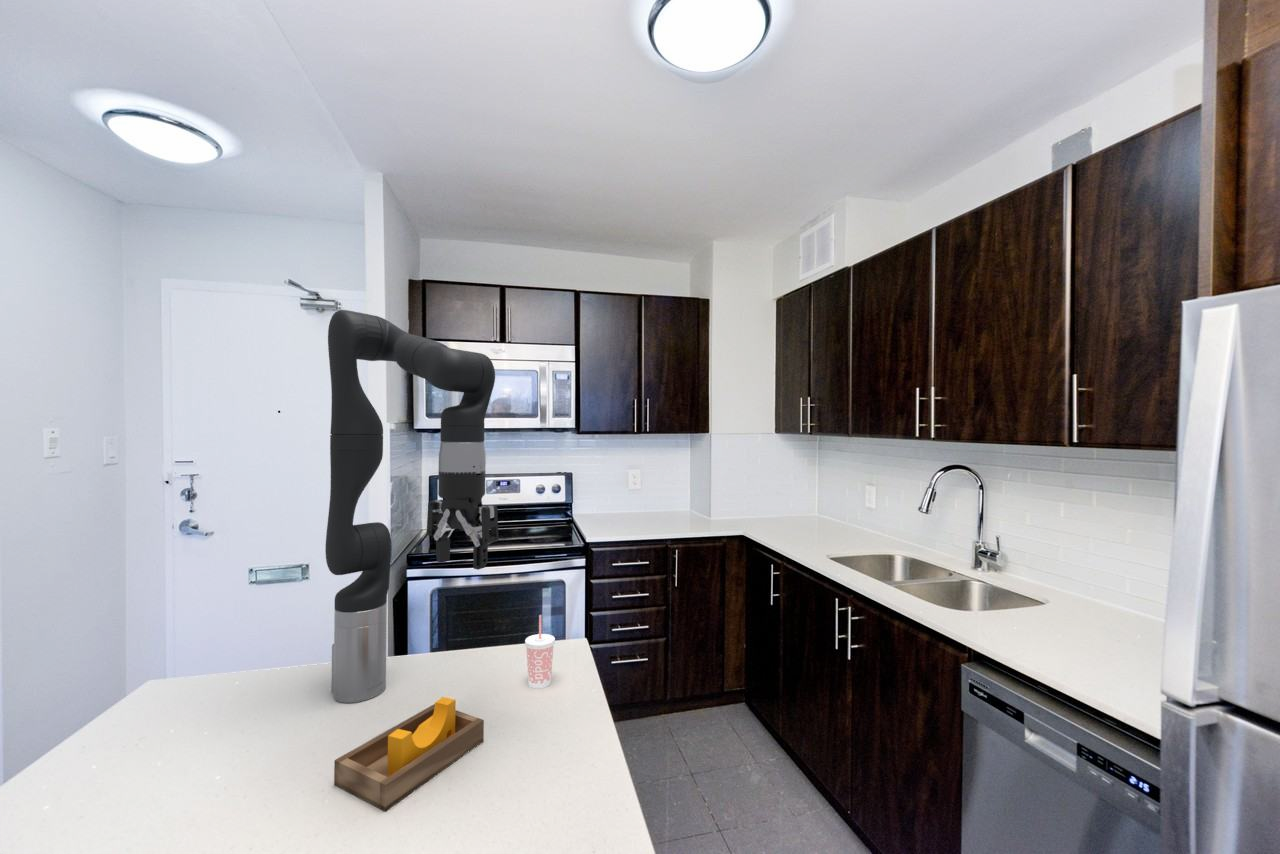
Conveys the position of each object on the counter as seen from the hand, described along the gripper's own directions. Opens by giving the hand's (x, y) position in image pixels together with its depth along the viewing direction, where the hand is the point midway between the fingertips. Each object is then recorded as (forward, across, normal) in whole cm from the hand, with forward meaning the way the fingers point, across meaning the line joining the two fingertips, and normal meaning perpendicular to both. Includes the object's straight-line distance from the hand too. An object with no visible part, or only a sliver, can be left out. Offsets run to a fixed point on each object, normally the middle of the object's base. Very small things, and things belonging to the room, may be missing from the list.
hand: (461, 564), depth 88 cm
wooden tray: (+30, -2, -8) cm, 30 cm away
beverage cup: (+30, -1, +22) cm, 37 cm away
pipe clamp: (+29, -1, -7) cm, 30 cm away
